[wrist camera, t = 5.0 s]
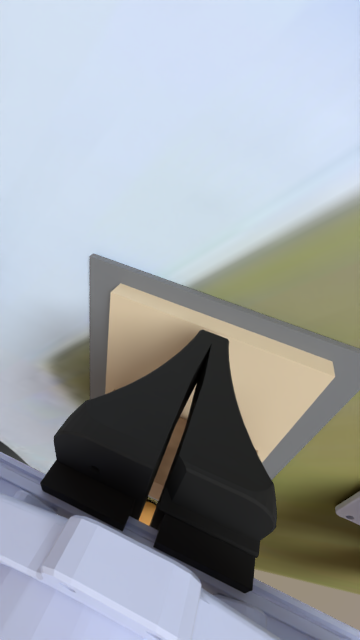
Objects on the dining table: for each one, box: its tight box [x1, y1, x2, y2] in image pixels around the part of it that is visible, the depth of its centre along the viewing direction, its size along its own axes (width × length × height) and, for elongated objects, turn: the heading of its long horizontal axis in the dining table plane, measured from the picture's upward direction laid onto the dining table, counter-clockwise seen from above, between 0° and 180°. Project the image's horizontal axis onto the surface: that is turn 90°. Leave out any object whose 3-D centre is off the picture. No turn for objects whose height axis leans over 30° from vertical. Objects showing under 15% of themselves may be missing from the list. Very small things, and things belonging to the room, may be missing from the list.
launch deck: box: [90, 254, 360, 501], centre depth 24 cm, size 16×34×2 cm, turn 168°
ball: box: [139, 501, 156, 526], centre depth 31 cm, size 5×5×5 cm
